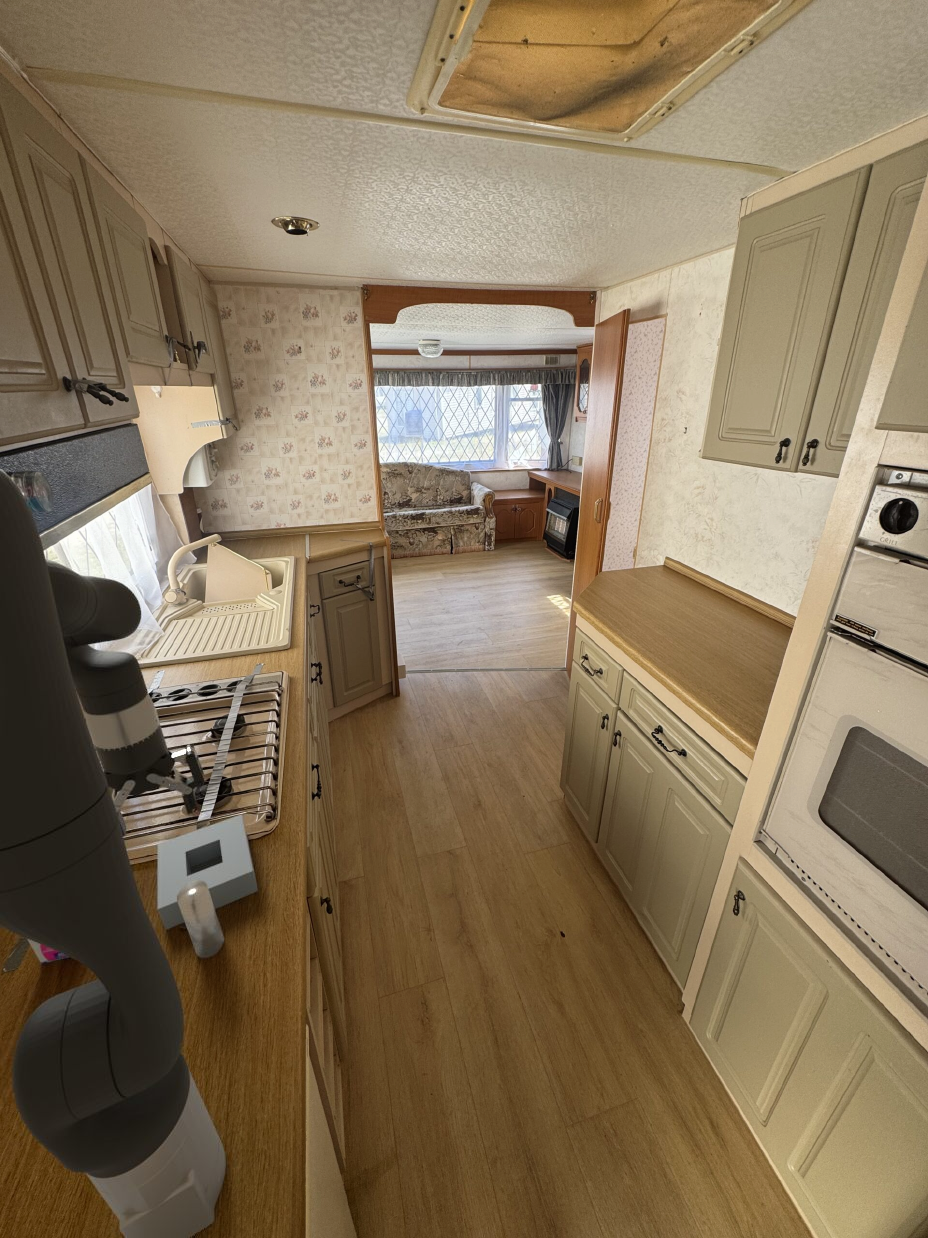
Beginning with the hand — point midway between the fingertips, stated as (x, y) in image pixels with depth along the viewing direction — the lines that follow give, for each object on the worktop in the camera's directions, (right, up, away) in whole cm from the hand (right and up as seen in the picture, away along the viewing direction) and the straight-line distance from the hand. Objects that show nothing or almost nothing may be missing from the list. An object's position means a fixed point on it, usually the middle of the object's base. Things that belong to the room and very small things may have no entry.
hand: (157, 821), depth 73 cm
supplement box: (-17, -21, +6) cm, 28 cm away
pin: (+5, -21, +5) cm, 22 cm away
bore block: (0, -16, +16) cm, 23 cm away
